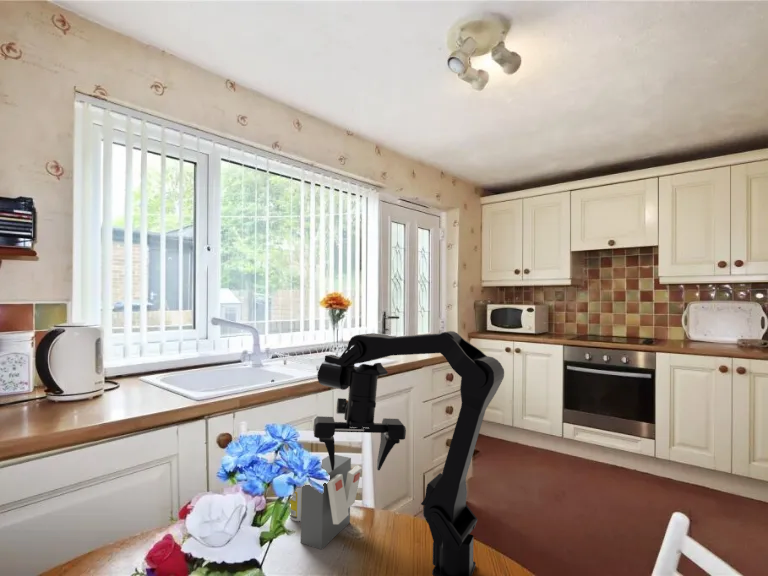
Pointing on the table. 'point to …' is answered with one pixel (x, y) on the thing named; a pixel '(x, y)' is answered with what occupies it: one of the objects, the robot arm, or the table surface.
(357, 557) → the table surface
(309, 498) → the switch box
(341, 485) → the block
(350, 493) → the block
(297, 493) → the supplement bottle
